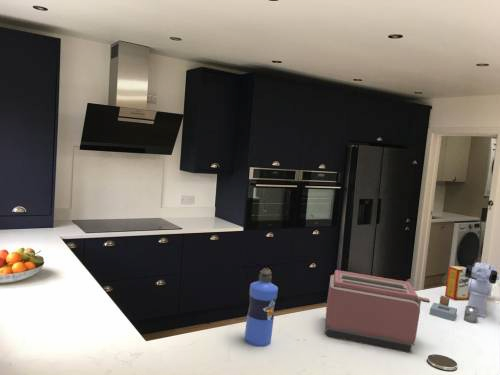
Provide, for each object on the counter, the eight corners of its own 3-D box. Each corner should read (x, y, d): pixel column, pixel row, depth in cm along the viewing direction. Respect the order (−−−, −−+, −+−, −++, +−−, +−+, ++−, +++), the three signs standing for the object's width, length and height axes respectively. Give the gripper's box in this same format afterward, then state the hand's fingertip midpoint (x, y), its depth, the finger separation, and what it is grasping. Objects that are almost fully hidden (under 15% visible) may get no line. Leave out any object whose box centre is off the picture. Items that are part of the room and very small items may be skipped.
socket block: (433, 308, 202) (433, 302, 202) (456, 315, 197) (457, 308, 197) (429, 314, 194) (430, 307, 193) (453, 321, 188) (454, 314, 188)
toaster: (427, 357, 149) (436, 300, 148) (323, 336, 156) (330, 281, 154) (417, 335, 168) (425, 284, 166) (324, 317, 175) (331, 268, 173)
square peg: (439, 307, 205) (441, 295, 205) (447, 309, 203) (449, 297, 203) (438, 309, 202) (440, 297, 202) (446, 311, 200) (448, 299, 200)
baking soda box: (459, 295, 229) (463, 266, 228) (469, 299, 222) (473, 269, 221) (445, 295, 226) (448, 265, 225) (454, 299, 219) (458, 268, 219)
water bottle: (276, 340, 148) (285, 270, 146) (261, 349, 140) (270, 275, 138) (253, 331, 153) (262, 263, 151) (238, 339, 145) (247, 267, 143)
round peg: (464, 317, 195) (466, 304, 194) (477, 321, 192) (479, 308, 192) (463, 320, 190) (465, 307, 190) (476, 324, 188) (478, 311, 187)
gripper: (465, 260, 201) (463, 262, 189) (501, 267, 193) (500, 270, 182) (463, 275, 201) (460, 278, 189) (498, 283, 193) (498, 287, 182)
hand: (480, 275), depth 185 cm, fingers open, 7 cm apart
